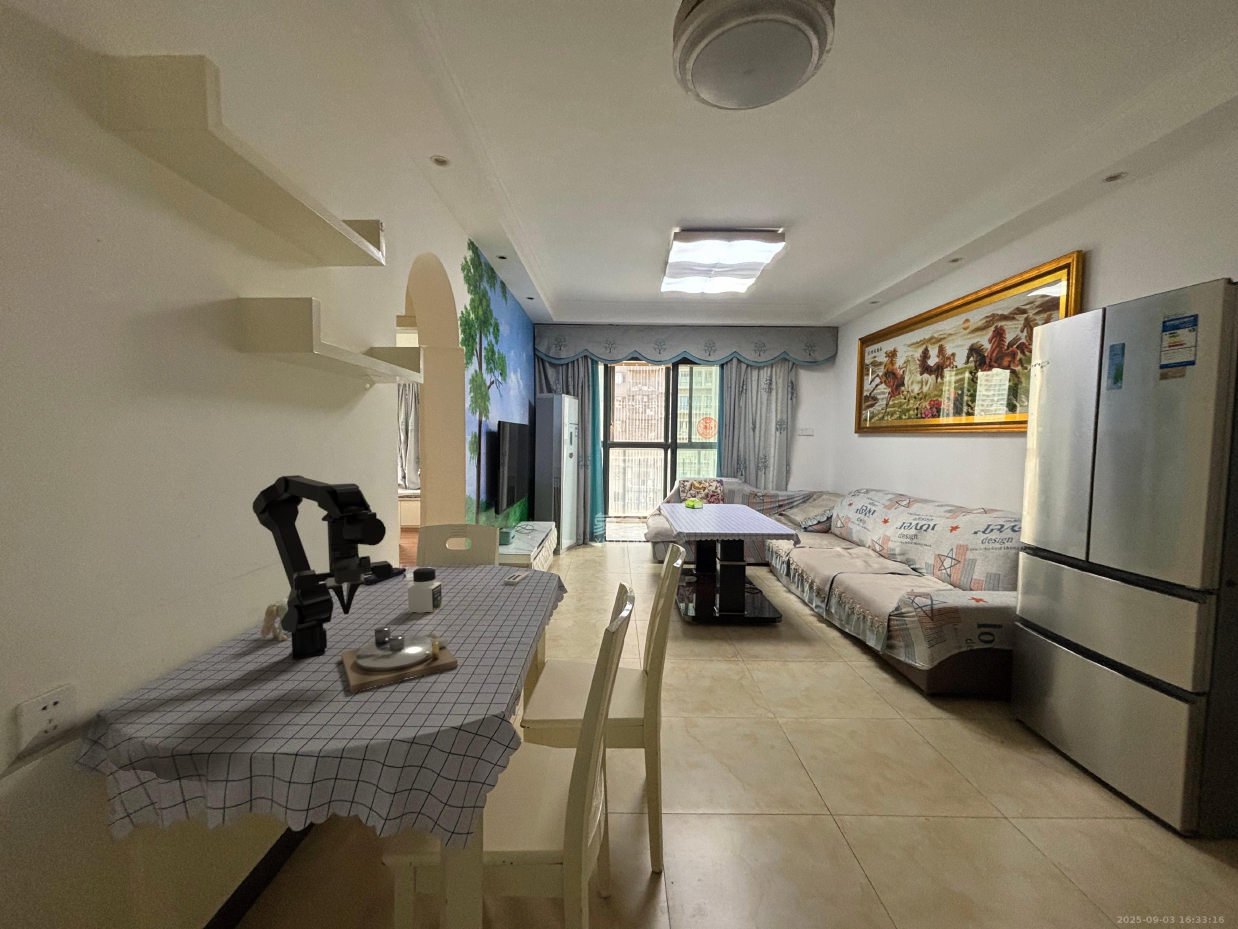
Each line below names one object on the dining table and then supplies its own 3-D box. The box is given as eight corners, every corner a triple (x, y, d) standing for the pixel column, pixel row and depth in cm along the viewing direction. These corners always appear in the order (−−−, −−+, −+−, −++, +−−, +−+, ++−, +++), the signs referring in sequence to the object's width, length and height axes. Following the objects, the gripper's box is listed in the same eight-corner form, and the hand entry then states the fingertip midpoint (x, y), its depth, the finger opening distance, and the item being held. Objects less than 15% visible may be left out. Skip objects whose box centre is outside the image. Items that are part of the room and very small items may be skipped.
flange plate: (361, 678, 103) (360, 655, 102) (352, 652, 116) (351, 632, 116) (457, 655, 113) (456, 634, 112) (438, 634, 126) (437, 616, 126)
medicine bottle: (433, 613, 149) (431, 571, 148) (408, 613, 149) (406, 571, 148) (442, 605, 156) (440, 565, 155) (418, 606, 156) (416, 565, 156)
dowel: (433, 660, 111) (432, 644, 110) (431, 658, 112) (431, 642, 112) (440, 659, 111) (439, 643, 111) (438, 657, 112) (437, 641, 112)
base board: (351, 693, 100) (351, 685, 100) (341, 659, 117) (341, 652, 117) (457, 667, 111) (457, 660, 111) (434, 639, 127) (434, 633, 127)
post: (391, 651, 111) (390, 641, 111) (388, 647, 114) (388, 637, 114) (406, 648, 113) (405, 638, 113) (403, 644, 116) (403, 634, 116)
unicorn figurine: (321, 619, 146) (319, 571, 145) (292, 644, 127) (290, 589, 126) (292, 621, 144) (290, 573, 144) (259, 647, 125) (256, 592, 125)
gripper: (293, 553, 101) (296, 633, 102) (396, 542, 112) (399, 615, 112) (292, 545, 111) (295, 618, 111) (387, 535, 121) (390, 603, 121)
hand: (346, 614), depth 114 cm, fingers closed
